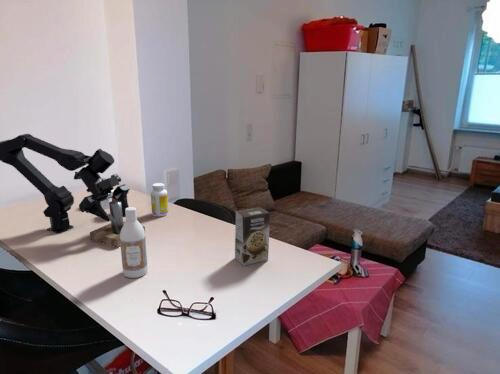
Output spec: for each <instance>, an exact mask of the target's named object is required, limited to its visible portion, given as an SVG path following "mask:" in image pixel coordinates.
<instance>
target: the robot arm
mask: <svg viewBox="0 0 500 374" xmlns="http://www.w3.org/2000/svg"><path fill="white" fill-rule="evenodd" d="M25 148H26V149H28V150H31V151H33V152H35V153H37V154H40V155H42V156H45V157H47V158H49V159H52V160H54V161H55V162H56V163H57V164H58V165H59V166H60V167H62V168H63V169H65V170H67V171H70V172H73V171H75V172H74V176H73V180H76V181H77V180H81V181H82V183H83V184H84V186H85V187H86V192H87V193H90V194H91V193H92V195H90V194H89V195H87V196H85V197H84V198H82V200H81V201H80V203H79V204H78V208H79V210H80V212H81V213H87V214H91V215H93V216H96V217H98V218H100V219H102V220H104V221H106V222H111V218H110V216H109V215H108V214H107V212H106V211H105V209H103V208H102V207H101V201H104V200H107V199H109V198H112V197H113V198H114V199H115V200H116V201H121V204H122V209H123V210H125V209H126V208H128V207H130V206H129V203H128V194H129V192H130V190H131V188H130V187H129V185H127V184H121V185H120V183H121V182H122V178H121V175H119V174H118V173H113V174H112V175H110V177H108V178H106V177H101V175H100V174H103V173H105V172H106V171H107V170H108V169H109V168H110V167H111V166H112V165H113V164H115V158H114V156H113V155H111V153H108V152H107V151H105V150H102V148H98V149H97V150H95V152H94V153H93V154H92V155H91V156H90V155H86V154H85V153H83V152H82V151H77V150H75V149H67V148H62V147H59V146H57V145H54V144H52V143H50V142H47V141H46V140H43V139H41V138H38V137H35V136H33V135H32V134H31V133H24V134H19V135H17V136H16V137H14V138H11V139H6V140H5V139H4V140H2V141H0V162H2V163H4V164H7V165H9V166H12V167H13V168H14V169H15V170H16V171H17V172H18V173H20V174H21V175H22V176H23V177H24V178H25V179H26V180H27V181H28V182H29V183H30V184H31V185H32V186H34V188H36V189H37V190H38V191H39V192H40V193H41V194H42V196H43V197H44V201H45V203H46V204H47V207H46V208H45V209H44V210H43V212H42V213H43V215H44V216H45V218H49V223H50V227H48V228H47V231H50V232H53V233H57V234H61V233H62V232H65V231H68V230H70V229H74V225H71V223H70V218H69V213H68V211H70V210H71V209H72V206H73V205H74V203H75V197H74V196H73V195H72V194H73V193H72V192H71V191H69V190H68V188H67V187H66V186H64V185H61V186H57V185H55V184H53V182H52V181H50V179H48V178H47V177H46V175H44V174H43V173H42V172H41V170H39V169H38V168H37V167H36V166H35V165H34V164H33V163H32V162H31V161H30V160H29V159H28V158H26V157H25V153H24V150H23V149H25ZM80 168H81V169H80ZM78 169H80V170H78ZM76 170H78V171H76ZM114 188H115V189H114ZM111 190H114V191H113V192H111Z"/></svg>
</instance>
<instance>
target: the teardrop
mask: <svg viewBox="0 0 500 374" xmlns="http://www.w3.org/2000/svg"><path fill="white" fill-rule="evenodd" d="M114 190H115V189H113V190H111V192H113V191H114ZM90 195H92V193H91V192H90V194H89V196H90ZM111 201H112V198H109V199H107V200H104V201H101V207H102V208H103V209H104V210H105V209H107V210H108V209H110V207H109V202H111Z"/></svg>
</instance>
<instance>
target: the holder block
mask: <svg viewBox="0 0 500 374" xmlns="http://www.w3.org/2000/svg"><path fill="white" fill-rule="evenodd" d="M125 222H126V221H124V220H123V225H124V224H125ZM142 227H143V229H144V231H145V232H146V227H145V226H144V225H142ZM89 237H90V241H92V240H93V241H92V242H95V241H97V242H96V243H99V242H100V243H99V244H102V243H104V244H103V245H106V244H107V245H106V246H109V245H111V246H110V247H113V246H114V247H113V248H116V247H117V249H120V248H121V245H120V234H118V235H117V234H113V233H112V228H111V222H110V223H108V224H105V225H104V226H101V227H98V228H96V229H94V230H90V231H89ZM119 247H120V248H119Z"/></svg>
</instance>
